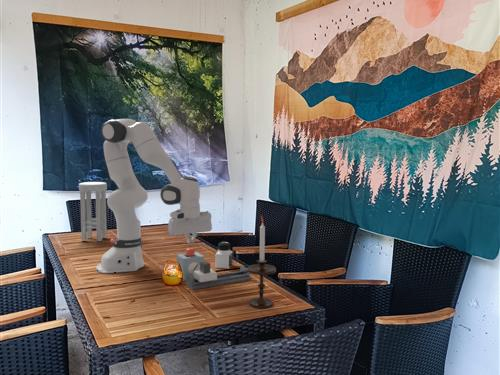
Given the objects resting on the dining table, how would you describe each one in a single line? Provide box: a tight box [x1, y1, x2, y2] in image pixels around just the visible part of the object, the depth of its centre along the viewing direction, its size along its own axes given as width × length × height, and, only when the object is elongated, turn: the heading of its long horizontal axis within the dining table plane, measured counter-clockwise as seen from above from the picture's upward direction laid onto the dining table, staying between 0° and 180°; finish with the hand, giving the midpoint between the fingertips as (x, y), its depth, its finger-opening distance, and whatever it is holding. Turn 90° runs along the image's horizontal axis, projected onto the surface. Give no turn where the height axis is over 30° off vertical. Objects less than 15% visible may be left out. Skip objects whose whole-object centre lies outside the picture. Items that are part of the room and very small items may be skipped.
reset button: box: [185, 247, 196, 257], centre depth 201 cm, size 4×4×4 cm
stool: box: [78, 181, 108, 242], centre depth 268 cm, size 16×16×35 cm
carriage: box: [193, 260, 218, 282], centre depth 191 cm, size 8×7×7 cm
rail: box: [185, 265, 251, 291], centre depth 195 cm, size 28×8×4 cm, turn 120°
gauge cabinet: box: [176, 251, 205, 282], centre depth 201 cm, size 10×9×10 cm
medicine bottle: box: [214, 241, 234, 270], centre depth 218 cm, size 7×7×12 cm
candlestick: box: [247, 215, 277, 310], centre depth 168 cm, size 11×11×35 cm
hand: (190, 242), depth 200 cm, fingers closed
